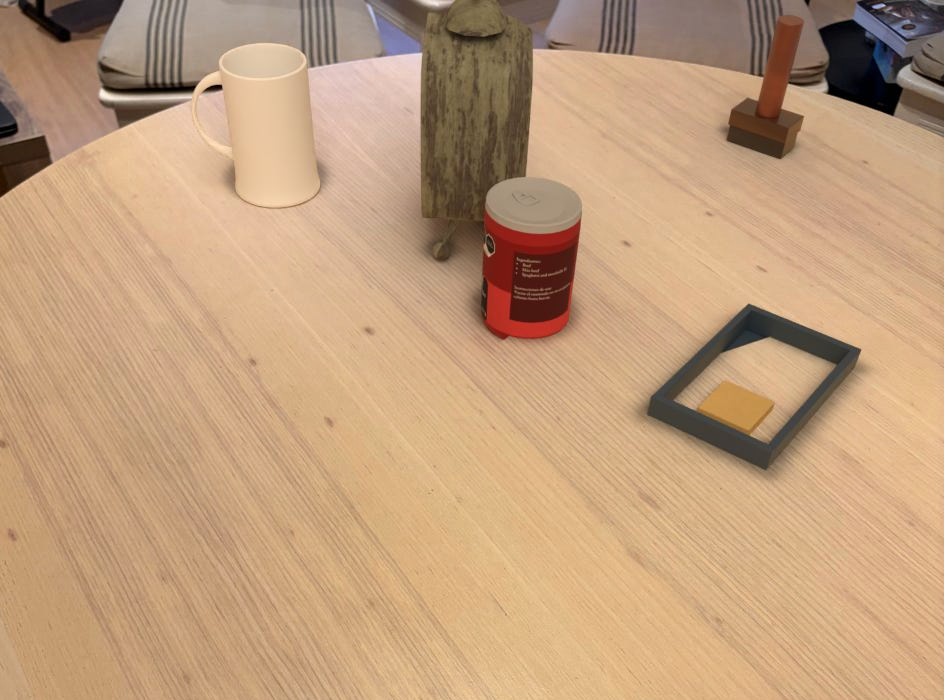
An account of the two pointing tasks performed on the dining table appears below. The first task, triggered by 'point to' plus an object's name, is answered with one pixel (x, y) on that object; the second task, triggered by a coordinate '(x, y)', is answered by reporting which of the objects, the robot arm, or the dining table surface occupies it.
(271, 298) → the dining table surface
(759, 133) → the brush
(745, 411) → the tan square tile
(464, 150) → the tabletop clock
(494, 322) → the canned food
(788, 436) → the tray
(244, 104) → the mug
